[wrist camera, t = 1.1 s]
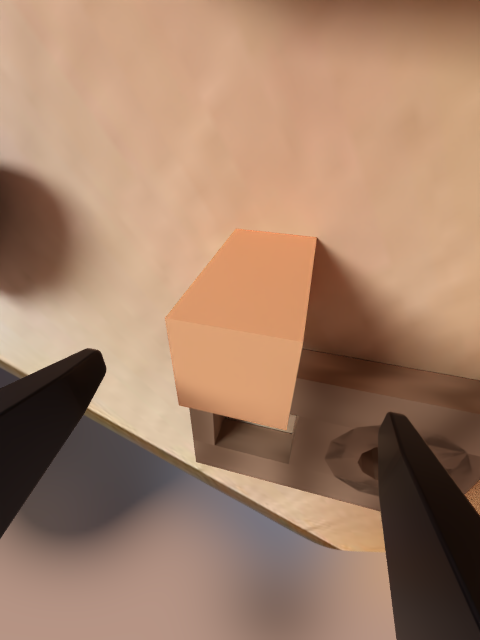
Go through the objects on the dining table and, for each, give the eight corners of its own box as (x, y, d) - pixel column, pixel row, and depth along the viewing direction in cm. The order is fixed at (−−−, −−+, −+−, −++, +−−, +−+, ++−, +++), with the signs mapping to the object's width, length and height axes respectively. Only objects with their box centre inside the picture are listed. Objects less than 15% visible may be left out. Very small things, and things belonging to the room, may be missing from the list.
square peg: (316, 237, 14) (303, 342, 8) (304, 307, 17) (286, 430, 10) (236, 228, 15) (165, 317, 9) (235, 296, 17) (178, 405, 11)
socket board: (510, 386, 16) (534, 425, 14) (424, 489, 23) (432, 525, 21) (197, 330, 20) (182, 355, 18) (206, 435, 27) (196, 461, 25)
